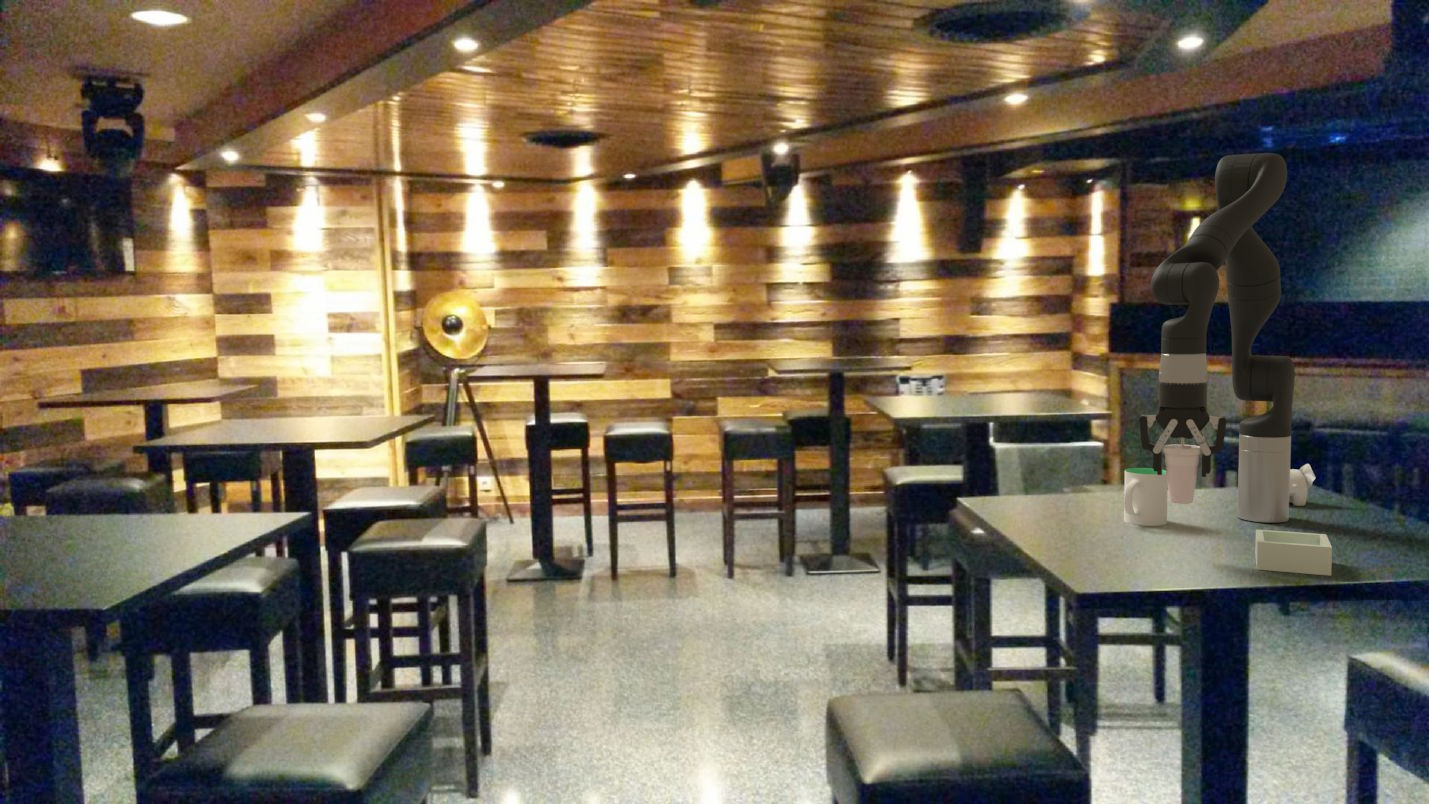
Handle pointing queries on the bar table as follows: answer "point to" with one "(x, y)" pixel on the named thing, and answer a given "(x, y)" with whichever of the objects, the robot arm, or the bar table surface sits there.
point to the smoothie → (1181, 471)
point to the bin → (1293, 552)
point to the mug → (1145, 497)
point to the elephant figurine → (1300, 484)
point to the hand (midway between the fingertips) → (1181, 474)
